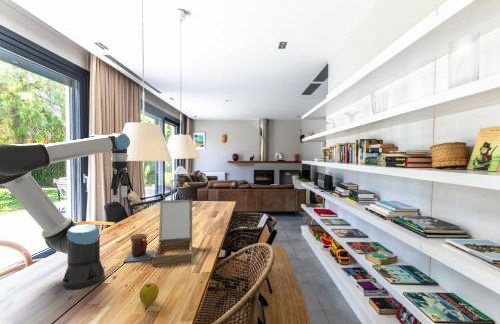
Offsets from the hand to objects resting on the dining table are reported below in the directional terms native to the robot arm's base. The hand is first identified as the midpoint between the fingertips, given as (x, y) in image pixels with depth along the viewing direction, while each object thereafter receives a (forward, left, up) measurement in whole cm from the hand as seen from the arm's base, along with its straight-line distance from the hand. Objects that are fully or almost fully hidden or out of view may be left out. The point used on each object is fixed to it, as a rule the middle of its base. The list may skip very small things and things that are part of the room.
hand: (120, 199), depth 136 cm
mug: (-7, -12, -30) cm, 33 cm away
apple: (-54, -24, -31) cm, 67 cm away
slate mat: (-7, -11, -31) cm, 34 cm away
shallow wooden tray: (-9, -29, -31) cm, 44 cm away
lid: (+7, -29, -14) cm, 33 cm away
